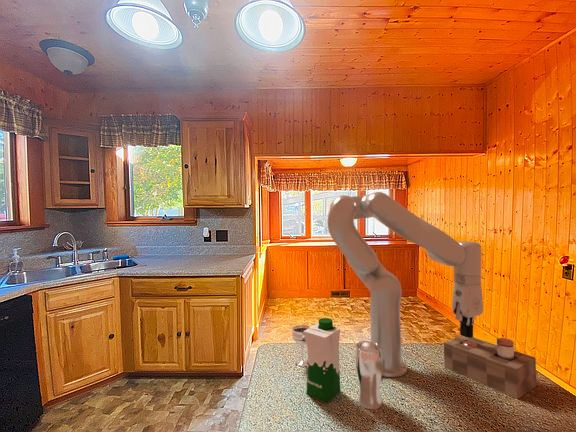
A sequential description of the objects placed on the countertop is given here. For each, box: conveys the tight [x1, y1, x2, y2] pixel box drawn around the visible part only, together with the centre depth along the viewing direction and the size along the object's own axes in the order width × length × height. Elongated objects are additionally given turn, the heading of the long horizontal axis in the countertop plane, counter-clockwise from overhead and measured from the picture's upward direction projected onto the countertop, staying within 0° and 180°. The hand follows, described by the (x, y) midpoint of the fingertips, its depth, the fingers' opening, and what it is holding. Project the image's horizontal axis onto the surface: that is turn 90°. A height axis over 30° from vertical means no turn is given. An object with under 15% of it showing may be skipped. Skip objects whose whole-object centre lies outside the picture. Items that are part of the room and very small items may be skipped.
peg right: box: [496, 337, 515, 361], centre depth 84 cm, size 4×4×8 cm
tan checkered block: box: [443, 335, 537, 400], centre depth 89 cm, size 12×20×8 cm, turn 30°
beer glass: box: [354, 340, 383, 410], centre depth 77 cm, size 7×7×15 cm
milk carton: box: [303, 317, 341, 404], centre depth 82 cm, size 9×9×20 cm
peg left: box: [463, 341, 477, 348], centre depth 93 cm, size 4×4×8 cm
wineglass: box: [291, 324, 310, 366], centre depth 99 cm, size 7×7×12 cm
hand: (466, 336), depth 93 cm, fingers closed
